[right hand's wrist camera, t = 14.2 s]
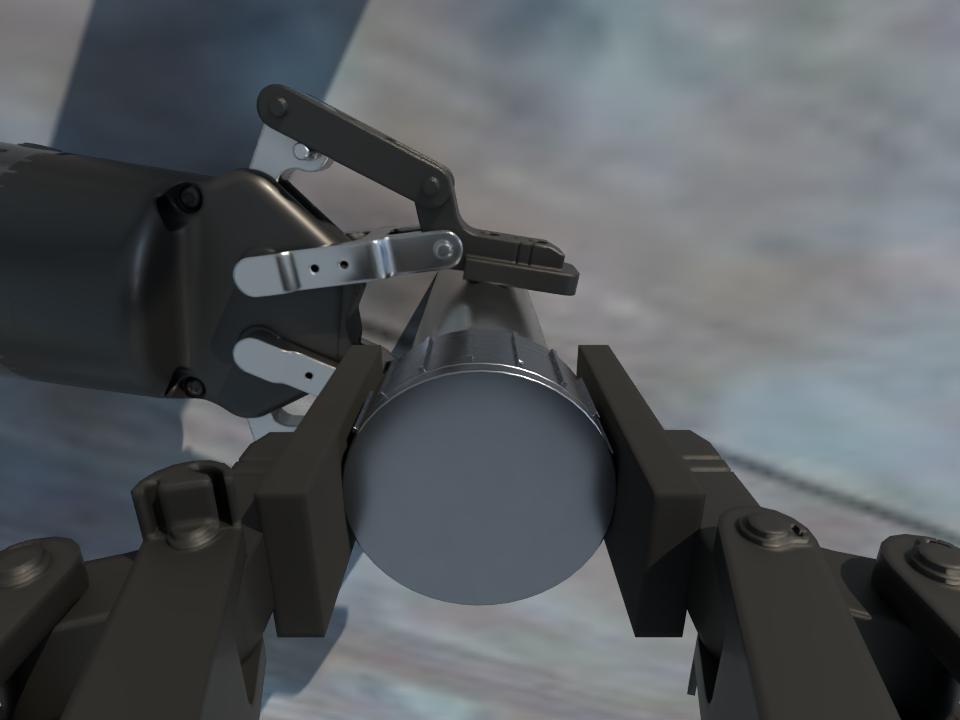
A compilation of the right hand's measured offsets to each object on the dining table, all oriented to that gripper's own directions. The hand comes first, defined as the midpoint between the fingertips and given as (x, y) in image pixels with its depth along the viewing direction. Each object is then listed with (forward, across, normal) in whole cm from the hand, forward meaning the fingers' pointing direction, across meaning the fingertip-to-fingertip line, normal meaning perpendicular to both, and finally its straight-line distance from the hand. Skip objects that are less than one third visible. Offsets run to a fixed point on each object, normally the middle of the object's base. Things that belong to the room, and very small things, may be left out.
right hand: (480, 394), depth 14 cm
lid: (-4, 0, 0) cm, 4 cm away
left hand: (+5, -3, 0) cm, 6 cm away
